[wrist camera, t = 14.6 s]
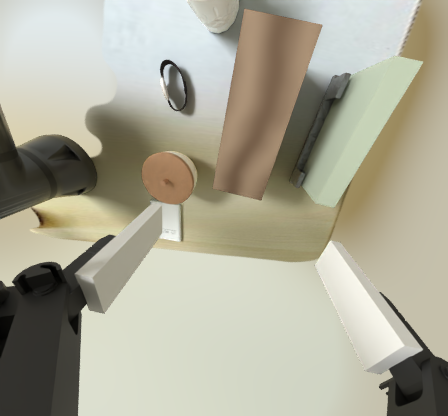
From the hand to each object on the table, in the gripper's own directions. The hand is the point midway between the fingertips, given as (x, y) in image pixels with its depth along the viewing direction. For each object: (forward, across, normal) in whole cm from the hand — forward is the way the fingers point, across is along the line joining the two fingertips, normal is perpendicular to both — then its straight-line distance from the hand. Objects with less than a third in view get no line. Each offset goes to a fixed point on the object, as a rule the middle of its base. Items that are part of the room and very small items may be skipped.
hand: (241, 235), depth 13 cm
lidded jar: (+27, -14, -5) cm, 31 cm away
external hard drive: (+28, -17, -21) cm, 39 cm away
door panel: (+25, +14, +7) cm, 30 cm away
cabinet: (+27, 0, +7) cm, 28 cm away
